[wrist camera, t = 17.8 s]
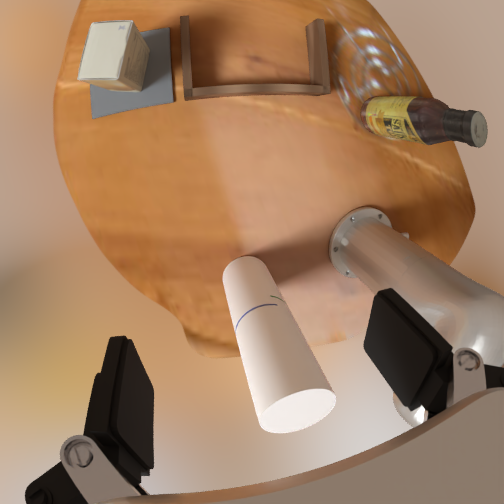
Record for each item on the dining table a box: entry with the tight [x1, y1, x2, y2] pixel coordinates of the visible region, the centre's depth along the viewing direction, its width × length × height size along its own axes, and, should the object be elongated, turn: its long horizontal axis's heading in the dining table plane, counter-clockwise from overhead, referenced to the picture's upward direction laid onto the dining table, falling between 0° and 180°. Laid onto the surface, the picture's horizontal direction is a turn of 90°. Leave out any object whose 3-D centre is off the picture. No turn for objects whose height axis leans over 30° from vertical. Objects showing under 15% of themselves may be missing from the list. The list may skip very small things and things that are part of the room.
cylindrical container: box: [223, 256, 336, 433], centre depth 33 cm, size 7×7×25 cm
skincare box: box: [78, 20, 150, 92], centre depth 22 cm, size 6×4×12 cm
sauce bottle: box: [361, 96, 487, 147], centre depth 28 cm, size 6×6×20 cm
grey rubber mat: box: [90, 28, 173, 119], centre depth 28 cm, size 11×11×1 cm
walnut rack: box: [180, 16, 331, 101], centre depth 29 cm, size 18×11×4 cm, turn 94°
